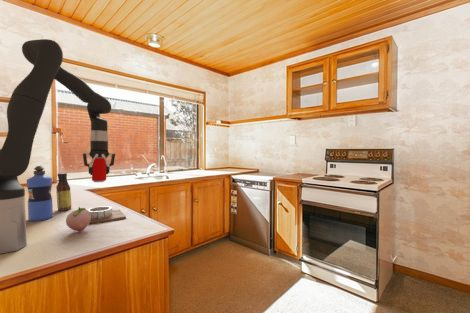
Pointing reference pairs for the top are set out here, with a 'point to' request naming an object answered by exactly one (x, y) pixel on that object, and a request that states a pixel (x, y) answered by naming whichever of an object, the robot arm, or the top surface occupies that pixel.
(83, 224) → the decorative fruit
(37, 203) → the water bottle
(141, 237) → the top surface
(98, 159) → the beverage can
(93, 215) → the steel collar
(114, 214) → the walnut base board
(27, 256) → the top surface
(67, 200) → the sauce bottle
